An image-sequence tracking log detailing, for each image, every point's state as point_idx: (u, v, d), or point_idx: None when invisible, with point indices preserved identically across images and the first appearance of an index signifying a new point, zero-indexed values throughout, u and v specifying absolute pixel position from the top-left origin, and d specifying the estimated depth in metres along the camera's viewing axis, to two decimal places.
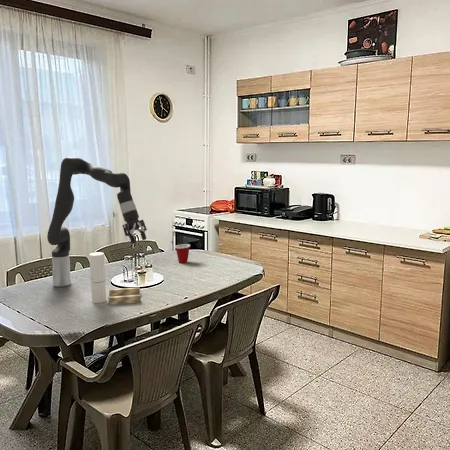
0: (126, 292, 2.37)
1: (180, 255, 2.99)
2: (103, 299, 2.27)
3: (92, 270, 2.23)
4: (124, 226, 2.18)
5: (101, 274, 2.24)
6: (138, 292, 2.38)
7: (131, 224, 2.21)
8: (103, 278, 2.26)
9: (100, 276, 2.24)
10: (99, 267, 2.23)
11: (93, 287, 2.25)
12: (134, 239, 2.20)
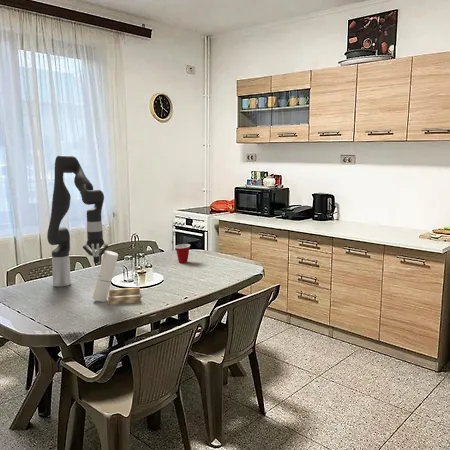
0: (126, 292, 2.37)
1: (180, 255, 2.99)
2: (104, 298, 2.27)
3: (103, 268, 2.24)
4: None
5: (109, 274, 2.25)
6: (138, 292, 2.38)
7: (90, 246, 2.22)
8: (110, 278, 2.27)
9: (109, 275, 2.25)
10: (110, 267, 2.24)
11: (98, 284, 2.25)
12: (95, 260, 2.24)
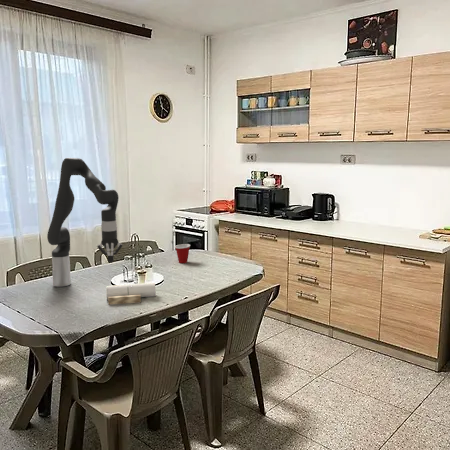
0: None
1: (180, 255, 2.99)
2: None
3: (140, 286, 2.32)
4: None
5: (135, 294, 2.31)
6: None
7: (104, 245, 2.24)
8: None
9: (134, 294, 2.30)
10: (143, 293, 2.31)
11: (122, 287, 2.30)
12: (109, 259, 2.26)
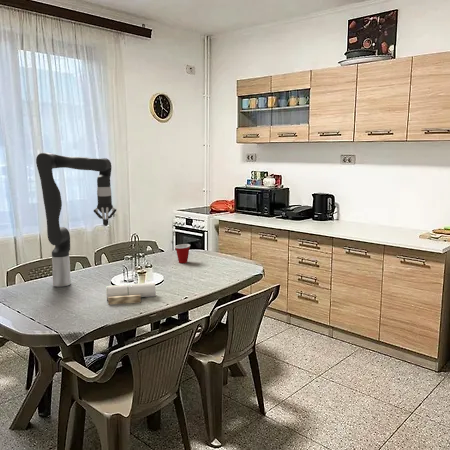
0: None
1: (180, 255, 2.99)
2: None
3: (140, 286, 2.32)
4: None
5: (135, 294, 2.31)
6: None
7: (100, 209, 2.44)
8: None
9: (134, 294, 2.30)
10: (143, 293, 2.31)
11: (122, 287, 2.30)
12: (104, 223, 2.45)
